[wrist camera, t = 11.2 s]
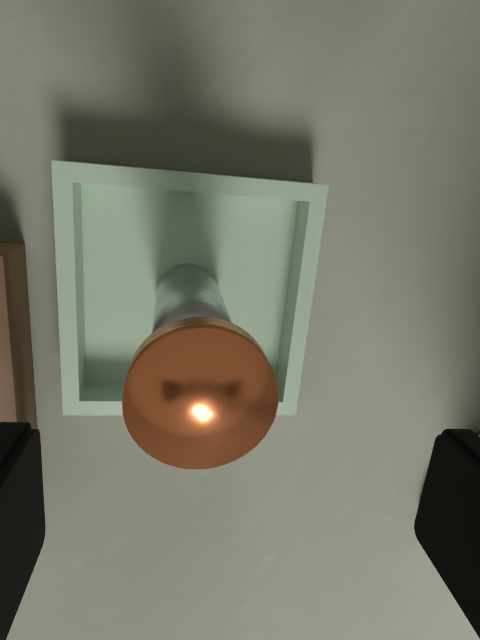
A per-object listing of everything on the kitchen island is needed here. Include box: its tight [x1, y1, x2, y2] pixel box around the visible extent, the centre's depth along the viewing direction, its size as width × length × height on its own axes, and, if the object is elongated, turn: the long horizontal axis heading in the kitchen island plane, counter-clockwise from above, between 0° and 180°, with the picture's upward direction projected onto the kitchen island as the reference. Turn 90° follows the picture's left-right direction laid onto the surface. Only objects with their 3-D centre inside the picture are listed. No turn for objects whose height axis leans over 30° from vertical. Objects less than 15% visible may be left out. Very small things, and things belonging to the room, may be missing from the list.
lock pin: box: [122, 264, 279, 469], centre depth 18 cm, size 4×4×11 cm
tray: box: [51, 160, 329, 415], centre depth 22 cm, size 12×12×2 cm
